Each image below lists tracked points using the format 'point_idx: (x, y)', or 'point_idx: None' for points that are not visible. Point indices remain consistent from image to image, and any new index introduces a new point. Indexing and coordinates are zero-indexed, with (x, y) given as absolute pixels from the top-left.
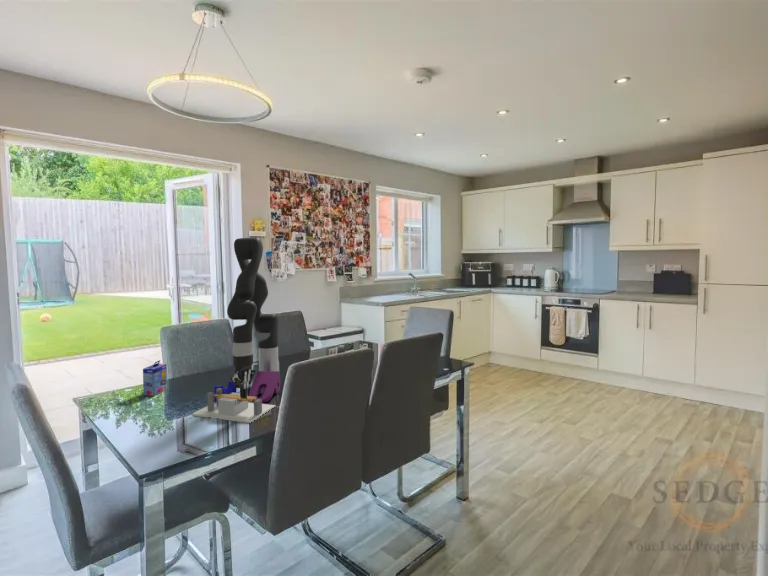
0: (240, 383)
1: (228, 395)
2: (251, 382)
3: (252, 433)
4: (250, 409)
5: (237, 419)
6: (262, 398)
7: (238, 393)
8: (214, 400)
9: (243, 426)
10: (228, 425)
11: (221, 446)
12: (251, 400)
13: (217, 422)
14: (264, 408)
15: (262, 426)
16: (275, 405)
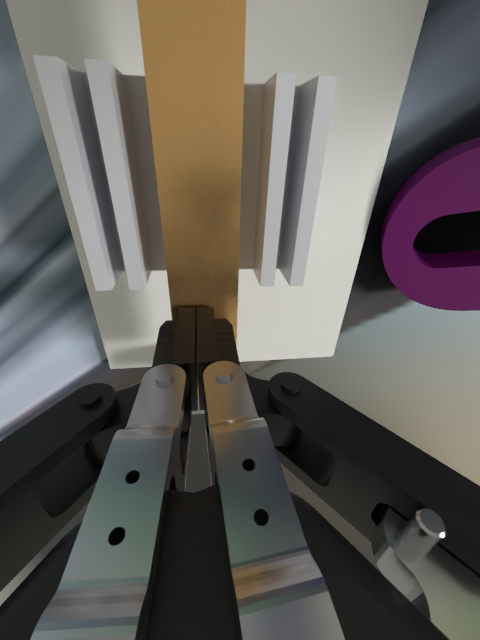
0: (56, 518)
1: (203, 117)
2: (301, 437)
3: None
4: (252, 276)
5: (91, 300)
6: (402, 273)
7: (311, 184)
8: None
9: (63, 356)
10: (21, 283)
11: None
12: None
13: (3, 180)
14: (282, 335)
15: None
16: (332, 355)
